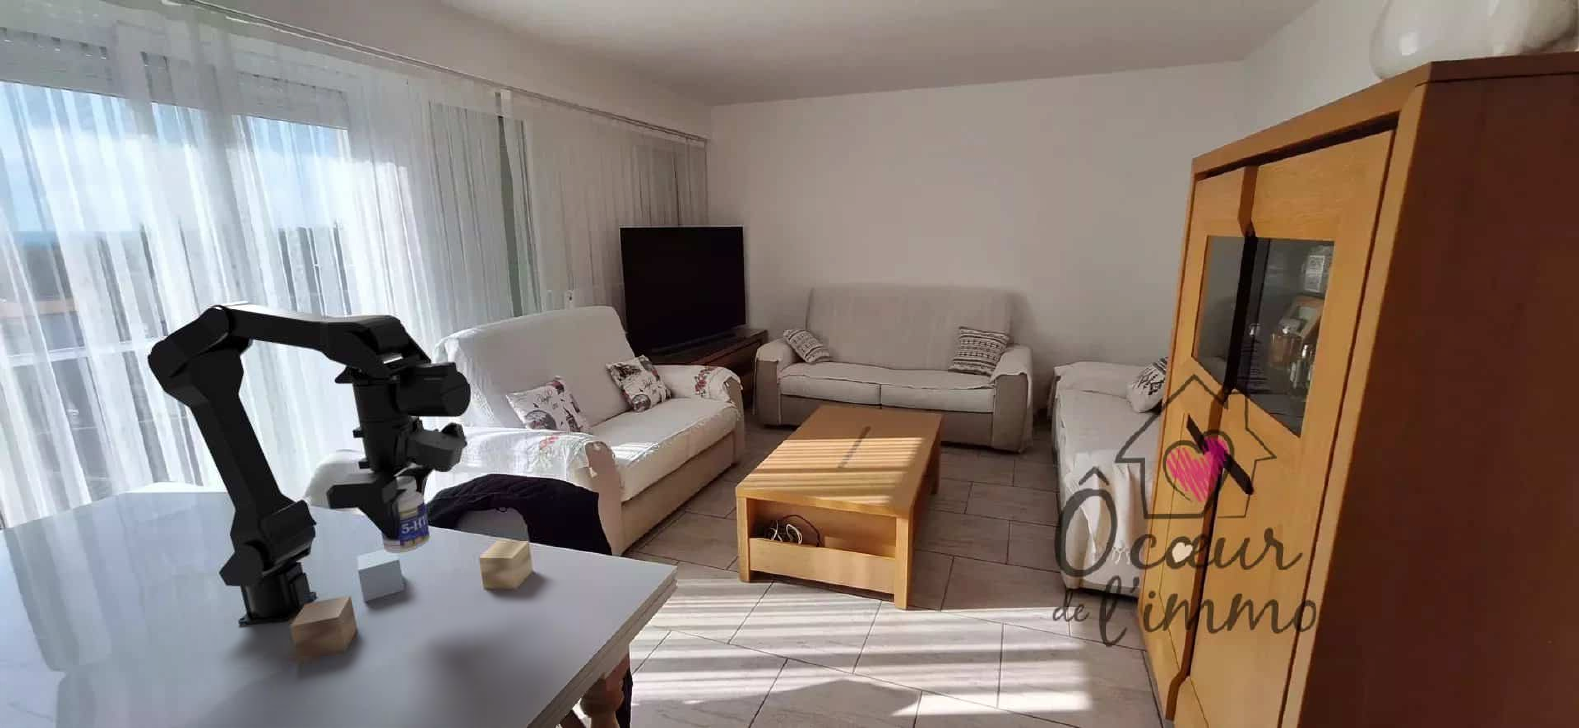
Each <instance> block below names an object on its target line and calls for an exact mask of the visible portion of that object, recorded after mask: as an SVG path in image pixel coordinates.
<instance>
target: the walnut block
mask: <svg viewBox="0 0 1579 728" xmlns="http://www.w3.org/2000/svg"><path fill="white" fill-rule="evenodd" d="M355 615H356V614H355V611H354V607H353V601H352V596H351V595H350V594H349V595H346V596H342V597H341V596H340V597H336V598H330V599H325V600H318V601H315V602H308V603H307V604H305V605H304V607H302V608H301V609H300V610H299V613H298V614H297V616H296V617H295V619H293V622H292V623H291V625H290V626H289V627H290V631H291V635H292V639H293V643H294V648H295V649H294V650H295V653H296V657H297V662H298V663H299V662H303V661H307V660H313V659H317V658H323V657H326V656H327V657H328V656H330V655H331V656H332V655H336V654H340V653H345V652H347V650H348V648H349V646H350V644H351V642H352V640H353V638H354V637H355V634H356V632H357V630H358V627H357V621H356V616H355Z"/></svg>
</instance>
